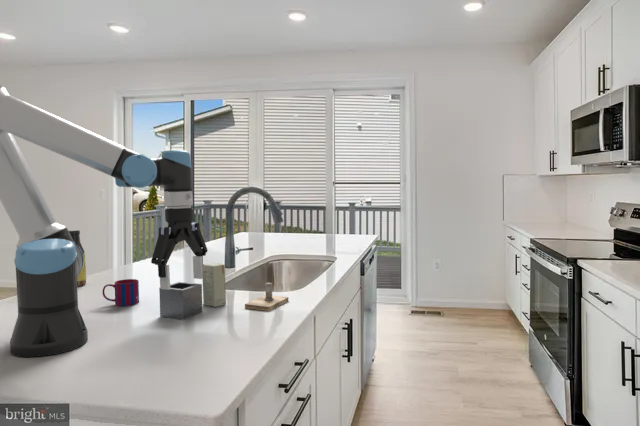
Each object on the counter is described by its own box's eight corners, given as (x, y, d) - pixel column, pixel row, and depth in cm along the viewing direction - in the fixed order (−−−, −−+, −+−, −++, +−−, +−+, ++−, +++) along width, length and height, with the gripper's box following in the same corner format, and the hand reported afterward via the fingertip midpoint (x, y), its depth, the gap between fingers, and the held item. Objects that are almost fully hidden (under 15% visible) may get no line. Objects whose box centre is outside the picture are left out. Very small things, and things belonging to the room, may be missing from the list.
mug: (137, 305, 137) (137, 282, 137) (101, 308, 135) (100, 285, 134) (140, 299, 144) (139, 278, 143) (105, 302, 141) (104, 280, 141)
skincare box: (226, 304, 137) (226, 264, 137) (214, 307, 134) (213, 266, 133) (214, 301, 142) (213, 261, 141) (202, 303, 139) (201, 263, 138)
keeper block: (268, 311, 130) (268, 289, 130) (244, 308, 133) (244, 287, 133) (288, 301, 141) (288, 281, 141) (265, 298, 144) (265, 279, 144)
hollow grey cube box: (183, 319, 122) (182, 290, 122) (160, 316, 126) (159, 287, 125) (202, 311, 130) (201, 284, 129) (179, 309, 133) (179, 281, 132)
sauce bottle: (90, 284, 166) (87, 230, 164) (72, 288, 160) (70, 231, 159) (79, 282, 169) (77, 229, 168) (62, 285, 164) (60, 230, 162)
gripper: (156, 210, 113) (160, 295, 114) (217, 204, 136) (220, 275, 137) (133, 210, 116) (138, 293, 117) (197, 204, 139) (200, 273, 140)
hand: (182, 283), depth 127 cm, fingers open, 13 cm apart
